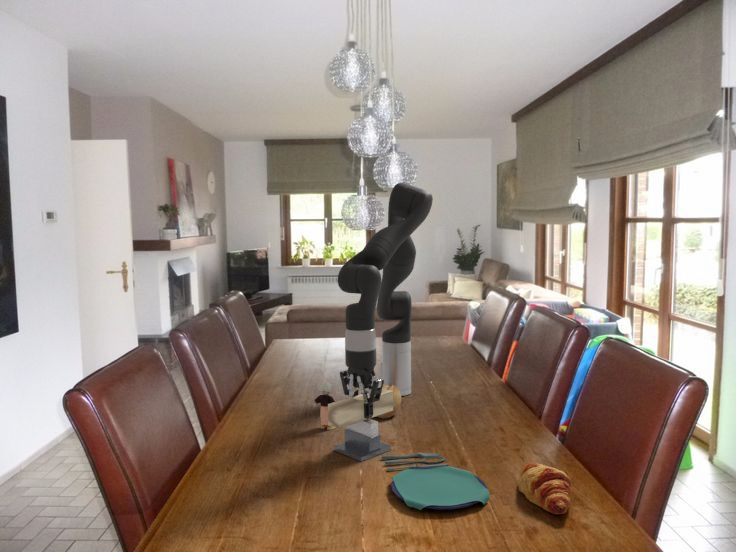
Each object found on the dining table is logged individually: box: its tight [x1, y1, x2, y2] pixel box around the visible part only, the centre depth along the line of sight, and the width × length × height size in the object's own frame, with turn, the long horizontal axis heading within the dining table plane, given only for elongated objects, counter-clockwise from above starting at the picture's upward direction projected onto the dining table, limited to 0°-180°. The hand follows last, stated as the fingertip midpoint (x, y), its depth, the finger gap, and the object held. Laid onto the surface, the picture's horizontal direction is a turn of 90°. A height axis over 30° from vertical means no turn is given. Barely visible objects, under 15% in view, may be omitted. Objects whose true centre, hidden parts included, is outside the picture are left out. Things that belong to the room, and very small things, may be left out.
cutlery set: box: [381, 451, 491, 511], centre depth 129 cm, size 20×30×2 cm, turn 11°
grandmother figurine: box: [313, 381, 337, 431], centre depth 164 cm, size 8×4×13 cm, turn 71°
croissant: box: [518, 462, 572, 515], centre depth 122 cm, size 21×10×8 cm, turn 3°
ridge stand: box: [333, 418, 392, 462], centre depth 147 cm, size 10×10×8 cm
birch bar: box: [328, 388, 393, 430], centre depth 147 cm, size 4×18×5 cm, turn 134°
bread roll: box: [376, 384, 402, 420], centre depth 176 cm, size 10×15×8 cm, turn 1°
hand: (361, 415), depth 147 cm, fingers closed on birch bar, 4 cm apart
